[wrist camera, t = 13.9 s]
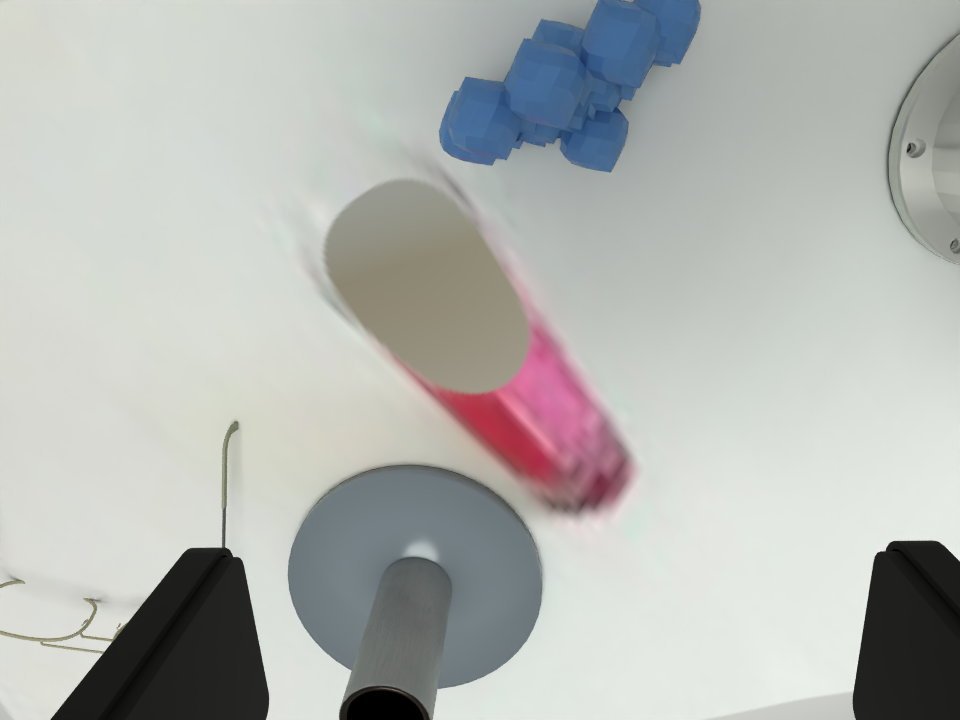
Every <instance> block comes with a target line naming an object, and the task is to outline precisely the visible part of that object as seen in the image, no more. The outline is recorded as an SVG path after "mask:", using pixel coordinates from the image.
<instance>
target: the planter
mask: <svg viewBox="0 0 960 720" xmlns="http://www.w3.org/2000/svg"><path fill="white" fill-rule="evenodd" d="M451 595H452V586H451V582H450V580H449V577H448V576H447V574H446V573H445V572H444V571H443V569H441V568H440V567H439V566H438V565H436V564H435V563H433V562H431V561H428V560H425V559H421V558H407V559H402V560H399V561H397V562H395V563H393V564H392V565H391V566H389V567H388V568H387V570H386V571H385V572H384V574H383V576H382V579H381V581H380V584H379V587H378V590H377V593H376V596H375V600H374V603H373V606H372V609H371V612H370V615H369V619H368V622H367V625H366V628H365V631H364V634H363V638H362V641H361V644H360V647H359V650H358V653H357V656H356V660H355V663H354V666H353V669H352V672H351V675H350V679H349V682H348V685H347V688H346V691H345V694H344V698H343V701H342V704H341V707H340V712H339V720H433V714H434V707H435V701H436V694H437V688H438V681H439V675H440V668H441V662H442V655H443V649H444V643H445V636H446V630H447V623H448V617H449V610H450V604H451Z"/></svg>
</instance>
